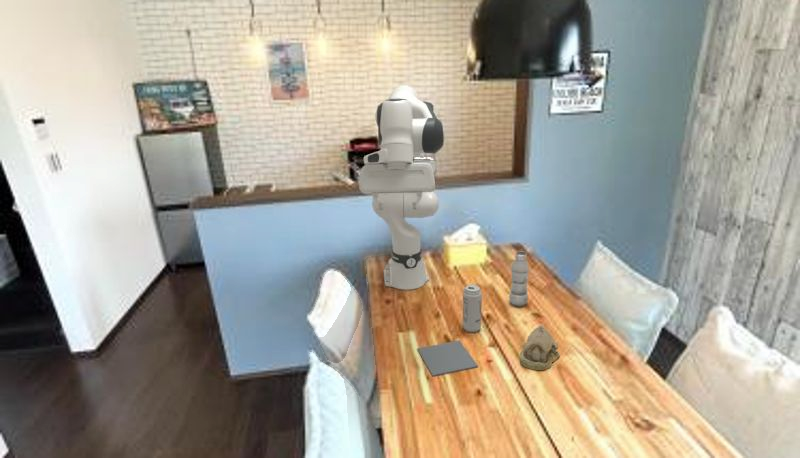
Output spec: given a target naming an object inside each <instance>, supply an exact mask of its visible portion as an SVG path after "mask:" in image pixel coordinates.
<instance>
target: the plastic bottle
mask: <svg viewBox="0 0 800 458" xmlns="http://www.w3.org/2000/svg"><path fill="white" fill-rule="evenodd" d="M514 258H515V259H514V261H513V262H512V263H511V265H510V273H511V286H510V292H509V297H508V298H509V302H510V303H511V305H513V306H516V307H523V306H525V305H526V304H527V303H528V300H529V296H528V277H529V272H530V265H529V263H528V261H527V253H526V252H525V251H517V252H515V256H514Z"/></svg>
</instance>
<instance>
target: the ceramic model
mask: <svg viewBox="0 0 800 458" xmlns="http://www.w3.org/2000/svg"><path fill="white" fill-rule="evenodd" d="M556 350H557V351H556ZM559 353H560V352H559V344H558V343H557V341H555V340H554V337H553V336H552V335H551V333H550V332H549V330H547V329H546V328H545V327H544V325H541V324H540V325H539V326H537V327H536V328H535V329H533V331H531V332H530V334H529V335H528V336H527V340H526V343H524V344H523V345H522V347H521V349H520V353H519V354H520V355H519V359H520V361H519V362H520V364H521V365H522V367H524V368H527V369H530V370H533V371H534V370H535V371H543V370H547V369H549V368H551V367H552V364H553V363H554V362H555V361H556V360H557V358H558V357H560V356H561V354H559ZM559 355H560V356H559ZM558 359H559V358H558ZM552 362H553V363H552ZM550 366H551V367H550Z"/></svg>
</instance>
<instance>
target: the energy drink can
mask: <svg viewBox="0 0 800 458" xmlns="http://www.w3.org/2000/svg"><path fill="white" fill-rule="evenodd" d="M462 294H463V295H462V327H463V330H464V331H466V332H468V333H476V332H479V330H481V327H482V301H483V299H482V297H483V295H482V294H483V292H482V290H481V287H480V286H479V285H476V284H468V285H466V286H465V287H464V290H463V291H462Z"/></svg>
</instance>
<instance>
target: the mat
mask: <svg viewBox="0 0 800 458" xmlns="http://www.w3.org/2000/svg"><path fill="white" fill-rule="evenodd" d="M416 349H417V351H418V353H419V355H420V357H421V359H422V360H423V362H424V364H425V365H426V368H427V370H428V371H429V373H430V374H431V376H432V377H438V376H443V375H446V374H451V373H452V374H453V373H456V372H462V371H467V370H471V369H476V368H479V364H477V362H476V361H475V360H474V358H473V356H471V354H470V353H469V351H468V350H467V349H466V347H465V346H464V345H463V344H462V342H461V341H460V340H454V341H448V342H444V343H437V344H433V345H428V346H423V347H417V348H416Z"/></svg>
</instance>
